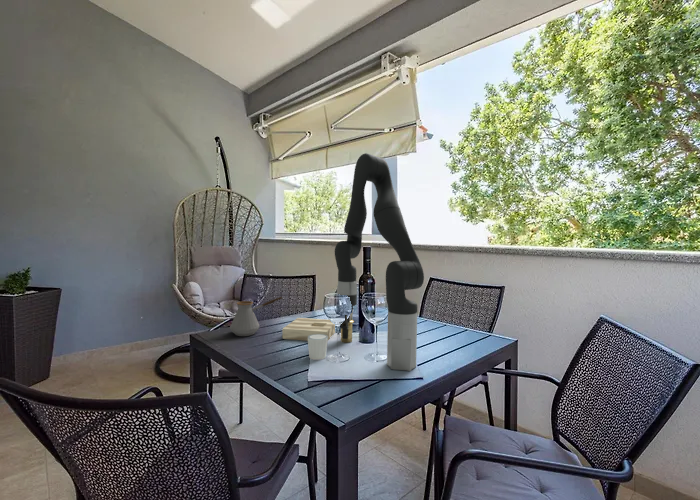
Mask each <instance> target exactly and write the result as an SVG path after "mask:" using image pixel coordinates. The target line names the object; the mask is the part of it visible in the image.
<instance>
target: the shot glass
mask: <svg viewBox="0 0 700 500" xmlns="http://www.w3.org/2000/svg"><path fill="white" fill-rule="evenodd" d="M328 342H329V340H328V336H327V335H324V334H312V335H309V336H308V341H307V345H308V346H307V347H308V356H309V357H308V358H309V359H310V360H314V361H322V360H325V359H326V357H327V349H328Z"/></svg>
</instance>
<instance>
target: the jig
mask: <svg viewBox="0 0 700 500" xmlns="http://www.w3.org/2000/svg"><path fill="white" fill-rule="evenodd" d="M330 320H331V319H323V318H311V317H310V318H306V317H296V318H295V319H294V320H293V321H291V322H290V323H288V324H287V325H286V326H284V327H283V328H282V339H284V340H295V341H305V342H306V341H307V342H308V336H309V335H312V334H324V335H327V336H328V341H329V340H330V339H331V338H332V337H331V336H332V335H333V336H334V334H335V333H336V332H335V324H333V323H332V322H331V321H330ZM330 337H331V338H330Z"/></svg>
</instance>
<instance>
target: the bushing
mask: <svg viewBox="0 0 700 500" xmlns="http://www.w3.org/2000/svg"><path fill="white" fill-rule="evenodd" d="M347 321H348V320H347ZM353 323H355V320H354V318H352V320H350V322H349V323H348V324H349V328H348V339H343V338H342V328H341V327H340V342H341V343H345V344H347V343H348V344H349V343H352V342H353ZM343 324H344V325H346V324H345V323H343Z"/></svg>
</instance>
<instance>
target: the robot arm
mask: <svg viewBox="0 0 700 500" xmlns="http://www.w3.org/2000/svg"><path fill="white" fill-rule="evenodd" d="M389 168H390V167H389V164H388V162H387V161H386V160H385V159H384V158H382V157H379V156H376V155H373V154H371V153H362V154H360V156H359V157H358V158H357V161H356V164H355V166H354V172H353V174H354V175H353V178H352V179H353V180H352V188H351V197H350V204H349V209H348V212H347V217H346V220H345V222H344V223H345V224H344V227H343V231H344V234H346V235H347V237H346V240H340V241H338V242H337V244H336V245H335V247H334V259H335V262H336V267H337V269H338V270H337V286H336V287H337V288H336V290H337V291H336V295H337V294H340V295H347V296H348V297H350V301H351V304H352V306H351V307H352V313H351V314H350V316H349V318H348V319H347V315H345V321H344V322H343V323H345V324H346V325H344V324H343V323H342V324H340V329H341V328H342V338H343V339H348V328H349V324H348V323H349V322H350V320H352V319H354V318H353V315H354V314H353V313H354V307H355V306H356V305H357V304H358V303H357V302H358V301H357V300H358V294H357V293H358V284H357V267H356V266H354V265H352V260H353V259H355V258H357V257H358V256H359V254H360V252H361V250H362V240H363V231H364V228H365V224H366V221H367V215H368V214H367V213H368V211H367V205H366V204H367V203H366V197H365V190H366V189H365V188H366V185H367V182H369V183H370V182H371V183H372V184H373V185H374V187H375V190H376V194H377V198H376V201H375V204H374V208H373V217H374V221H375V225H376V228H377V231H378V232H379V234H380V235H381V236H382V237H383V239H385V241H386V242H387V243H388V244H389V245H390V246H391V247H392V248H393V249H394V250H395V252H396V254H397V256H398V257H399V260H393V261H391V262H389V263H388V264H387V267H386V269H385V298H386V300H385V301H386V303H387V304H386V305H387V335H386V336H387V338H386V339H387V340H386V343H387V344H386V365H387V366H388V367H389V368H390V370H396V371H408V372H409V371H410V372H411V371H412V370H413V369H415V368H416V367H417V347H418V346H417V343H418V342H417V341H418V340H417V338H418V303H417V302H416V301H414V300H411V299H408V298H407V297H406V293H405V291H409V290H410V291H411V290H418V289H420V288H422V287H423V284H424V281H425V280H424V279H425V273H424V269H423V266H422V263H421V261H420V259H419V257H418V255H417V252H416V250H415V248H414V246H413V243H412V240H411V238H410V235H409V233H408V230H407V227H406V224H405V220H404V217H403V215H402V214H403V213H402V210H401V208H400V206H399V203H398V200H397V195H396V192H395V190H394V185H393V181H392V176H391V171H390V169H389ZM347 320H348V321H347Z"/></svg>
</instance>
